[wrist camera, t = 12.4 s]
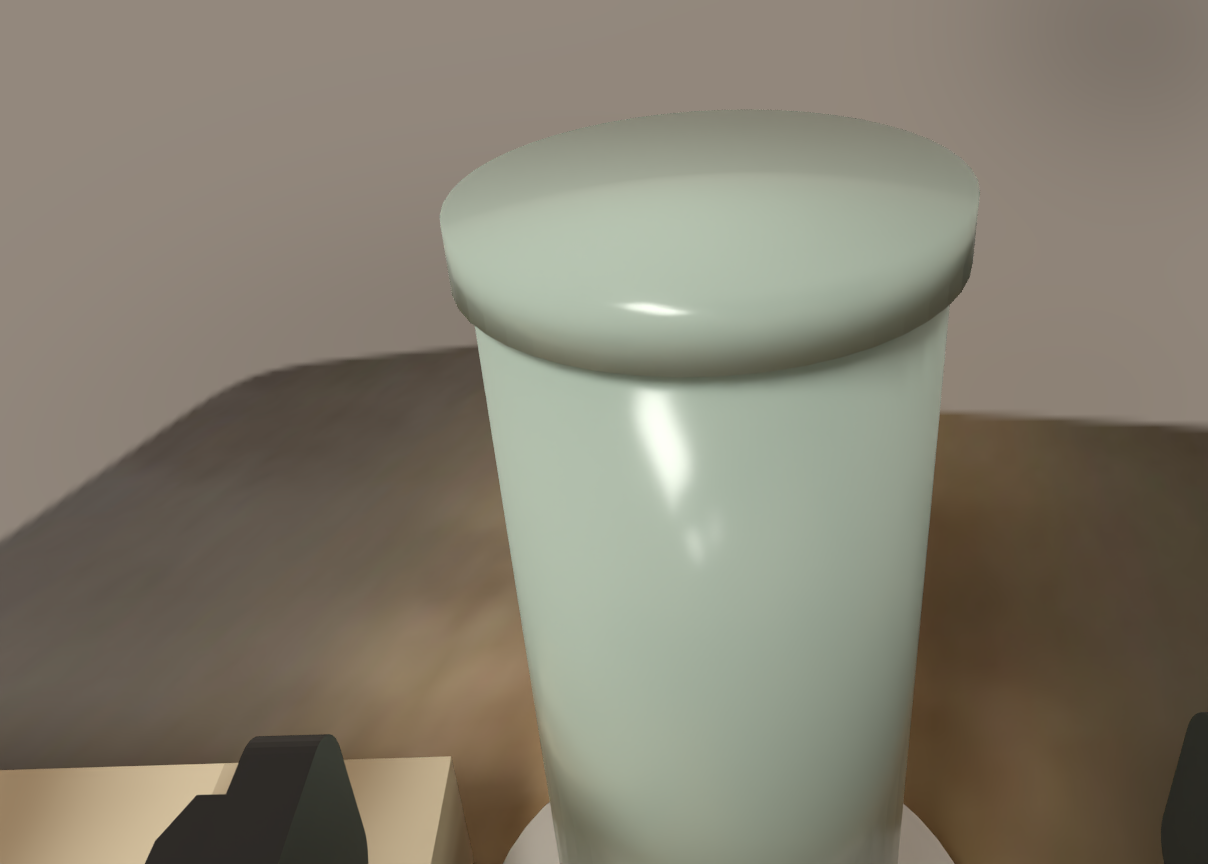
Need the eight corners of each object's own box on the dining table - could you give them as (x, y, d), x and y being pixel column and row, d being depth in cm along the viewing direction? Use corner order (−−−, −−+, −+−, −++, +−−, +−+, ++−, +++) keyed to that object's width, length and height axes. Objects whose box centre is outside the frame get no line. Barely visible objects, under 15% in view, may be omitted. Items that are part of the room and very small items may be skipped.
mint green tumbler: (853, 729, 24) (890, 63, 16) (934, 1106, 17) (1056, 278, 10) (575, 738, 24) (490, 93, 17) (551, 1110, 18) (393, 318, 10)
